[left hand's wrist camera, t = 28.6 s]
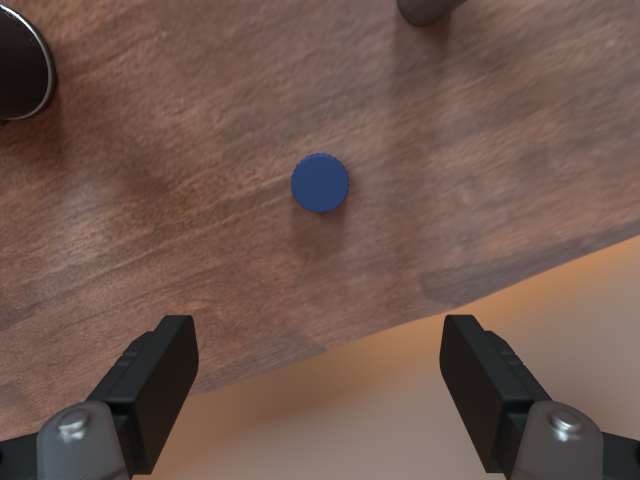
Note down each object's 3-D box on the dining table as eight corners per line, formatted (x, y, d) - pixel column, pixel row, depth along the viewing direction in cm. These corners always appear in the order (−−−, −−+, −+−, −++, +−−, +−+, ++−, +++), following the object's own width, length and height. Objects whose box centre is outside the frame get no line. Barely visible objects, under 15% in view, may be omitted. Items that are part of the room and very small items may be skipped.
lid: (339, 145, 35) (340, 147, 33) (353, 200, 37) (355, 204, 35) (284, 162, 35) (283, 164, 34) (301, 215, 37) (300, 219, 36)
